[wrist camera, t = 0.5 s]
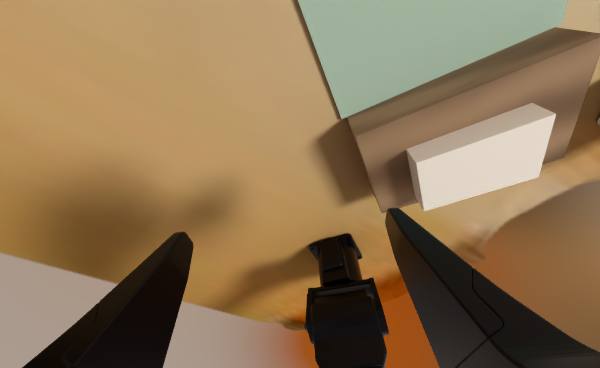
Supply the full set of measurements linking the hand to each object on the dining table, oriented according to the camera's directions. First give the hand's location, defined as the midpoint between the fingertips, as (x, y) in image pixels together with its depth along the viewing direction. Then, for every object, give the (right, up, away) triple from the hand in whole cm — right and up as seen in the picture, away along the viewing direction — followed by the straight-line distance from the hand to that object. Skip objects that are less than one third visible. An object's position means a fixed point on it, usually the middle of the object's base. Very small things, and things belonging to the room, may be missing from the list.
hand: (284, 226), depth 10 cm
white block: (+15, +4, +10) cm, 18 cm away
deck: (+14, +8, +12) cm, 20 cm away
